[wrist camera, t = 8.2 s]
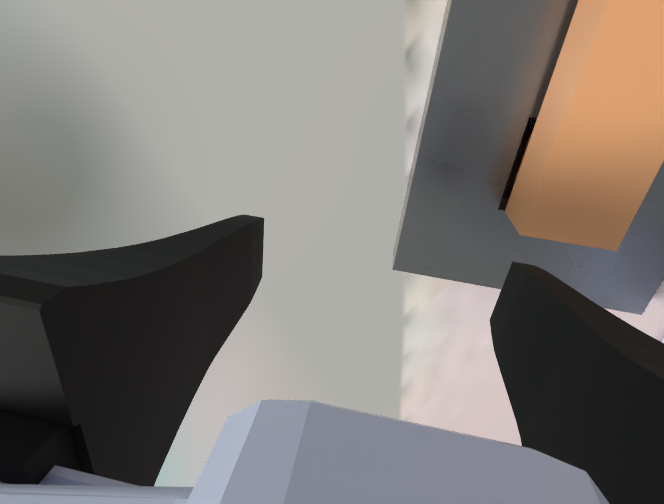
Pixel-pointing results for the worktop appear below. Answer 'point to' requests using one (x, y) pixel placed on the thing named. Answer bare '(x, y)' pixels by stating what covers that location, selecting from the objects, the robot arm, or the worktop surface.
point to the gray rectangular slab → (506, 163)
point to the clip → (596, 128)
